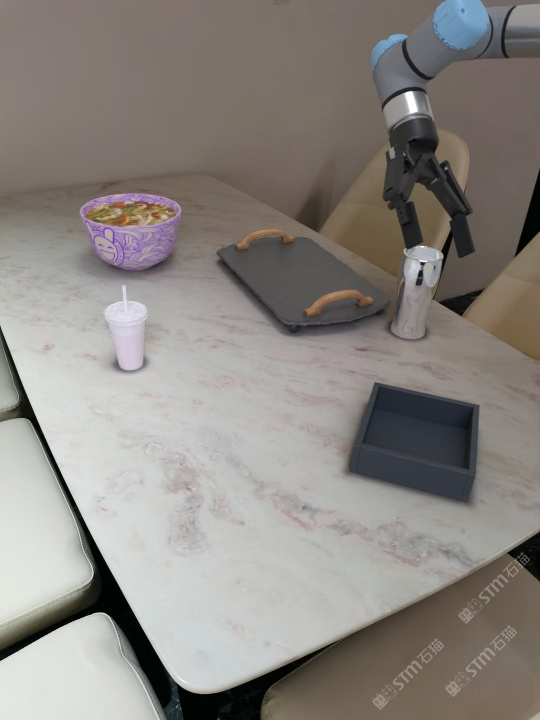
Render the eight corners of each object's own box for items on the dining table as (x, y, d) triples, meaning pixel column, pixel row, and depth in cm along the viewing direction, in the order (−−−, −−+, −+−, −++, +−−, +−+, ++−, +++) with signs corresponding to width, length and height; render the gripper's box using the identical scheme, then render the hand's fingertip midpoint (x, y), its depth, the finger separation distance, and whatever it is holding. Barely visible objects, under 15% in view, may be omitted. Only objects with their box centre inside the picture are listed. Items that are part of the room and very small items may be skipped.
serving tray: (209, 257, 130) (208, 230, 126) (302, 243, 139) (304, 217, 135) (291, 345, 101) (293, 313, 98) (401, 321, 110) (407, 291, 107)
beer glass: (394, 317, 111) (408, 241, 103) (431, 327, 109) (448, 250, 100) (383, 334, 106) (397, 255, 97) (421, 344, 103) (439, 265, 95)
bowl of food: (88, 287, 115) (81, 230, 109) (84, 247, 131) (77, 195, 125) (191, 279, 120) (189, 224, 114) (175, 241, 136) (173, 191, 130)
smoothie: (113, 378, 91) (103, 297, 83) (107, 356, 96) (97, 277, 88) (155, 371, 93) (149, 291, 85) (147, 350, 98) (141, 272, 90)
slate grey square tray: (471, 430, 85) (479, 404, 82) (466, 502, 73) (475, 475, 70) (370, 406, 88) (374, 381, 85) (349, 472, 76) (354, 445, 74)
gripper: (438, 157, 108) (466, 266, 103) (341, 124, 92) (370, 251, 88) (473, 134, 102) (505, 248, 98) (377, 94, 86) (410, 229, 82)
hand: (442, 250), depth 93 cm, fingers open, 13 cm apart
